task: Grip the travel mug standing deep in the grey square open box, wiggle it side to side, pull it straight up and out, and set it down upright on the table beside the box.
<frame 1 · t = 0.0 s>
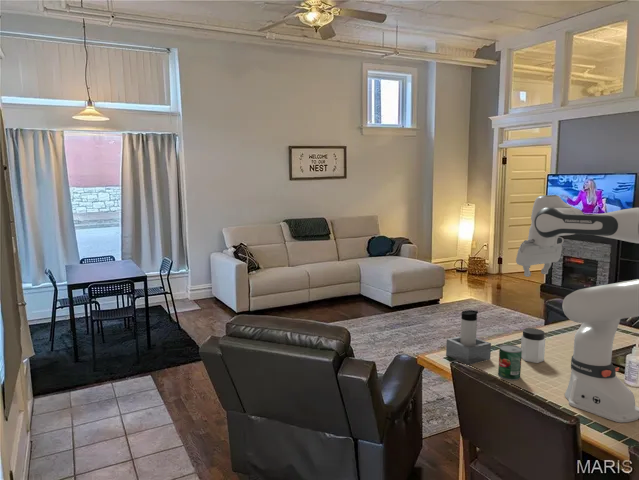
hand: (535, 275, 174), 39 cm above the table, tool pointing down, fingers open, 8 cm apart
travel mug: (467, 357, 196), resting in grey square open box
canned tomato: (509, 376, 178), on the table
jar: (532, 359, 194), on the table
grey square open box: (467, 357, 196), on the table
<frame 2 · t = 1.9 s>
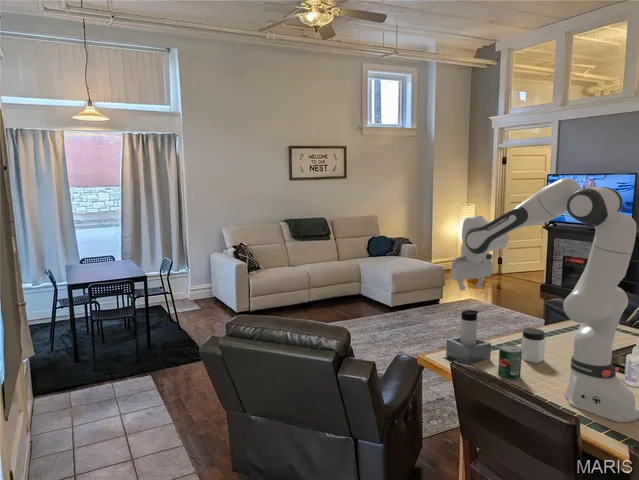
hand: (470, 288, 192), 29 cm above the table, tool pointing down, fingers open, 8 cm apart
nothing on the table moved.
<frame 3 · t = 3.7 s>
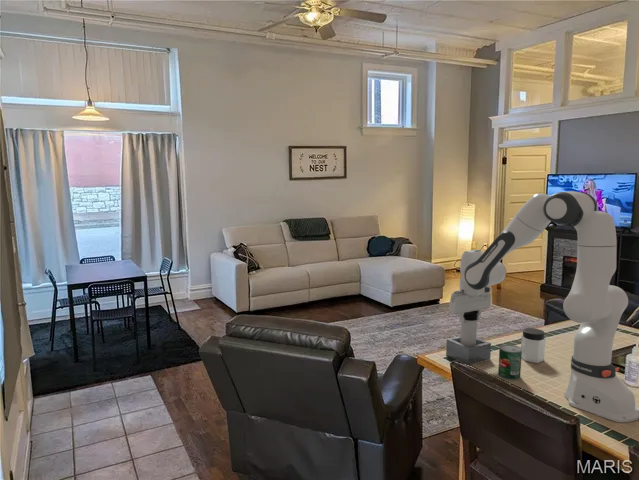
hand: (469, 321, 194), 16 cm above the table, tool pointing down, fingers closed on travel mug, 6 cm apart
travel mug: (467, 357, 196), resting in grey square open box, touching gripper
everything else where it was.
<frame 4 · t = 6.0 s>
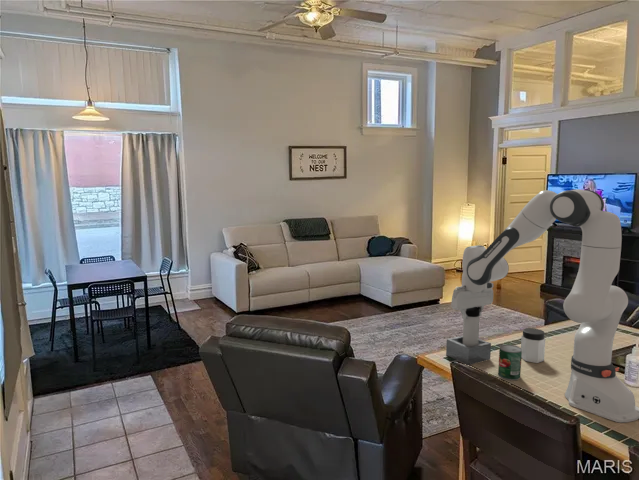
hand: (471, 317, 193), 18 cm above the table, tool pointing down, fingers closed on travel mug, 6 cm apart
travel mug: (470, 354, 195), point 2 cm above the table, touching gripper
everything else where it was.
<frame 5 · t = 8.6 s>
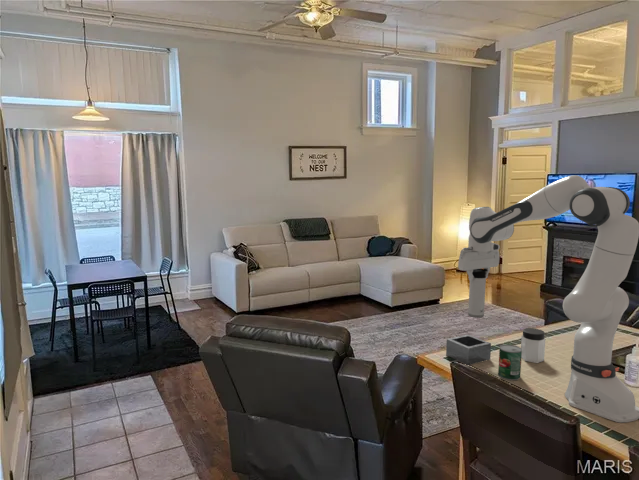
hand: (478, 279, 194), 33 cm above the table, tool pointing down, fingers closed on travel mug, 6 cm apart
travel mug: (476, 316, 196), point 17 cm above the table, touching gripper
everything else where it was.
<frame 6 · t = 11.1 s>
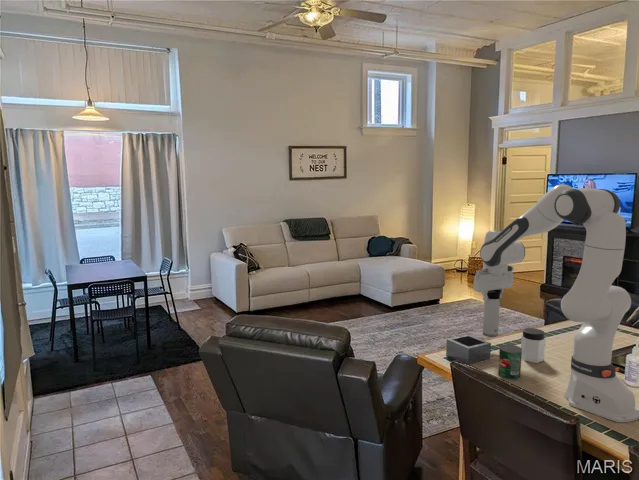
hand: (492, 299, 200), 23 cm above the table, tool pointing down, fingers closed on travel mug, 6 cm apart
travel mug: (490, 335, 203), point 7 cm above the table, touching gripper
everything else where it was.
when the fingers open (17 cm above the table, at t = 13.2 s): travel mug drops 1 cm, on the table.
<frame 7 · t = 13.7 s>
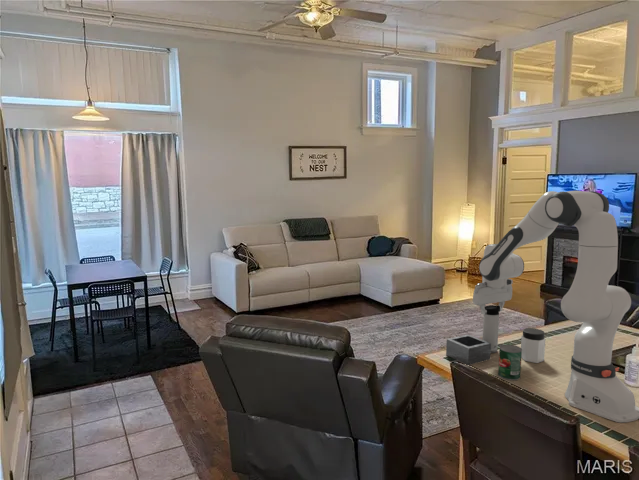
hand: (491, 312, 201), 17 cm above the table, tool pointing down, fingers open, 8 cm apart
travel mug: (490, 350, 203), on the table
everything else where it was.
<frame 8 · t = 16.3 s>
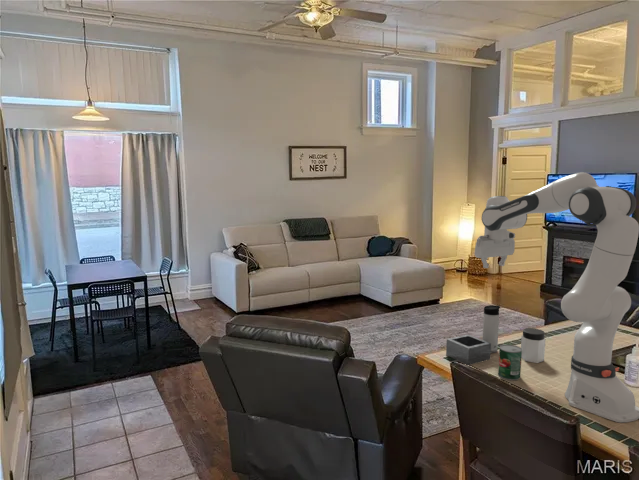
hand: (493, 266, 198), 37 cm above the table, tool pointing down, fingers open, 8 cm apart
nothing on the table moved.
at the end: travel mug inside the target area (0.4 cm from its centre), on the table; travel mug tilted 0°; travel mug touching table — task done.
